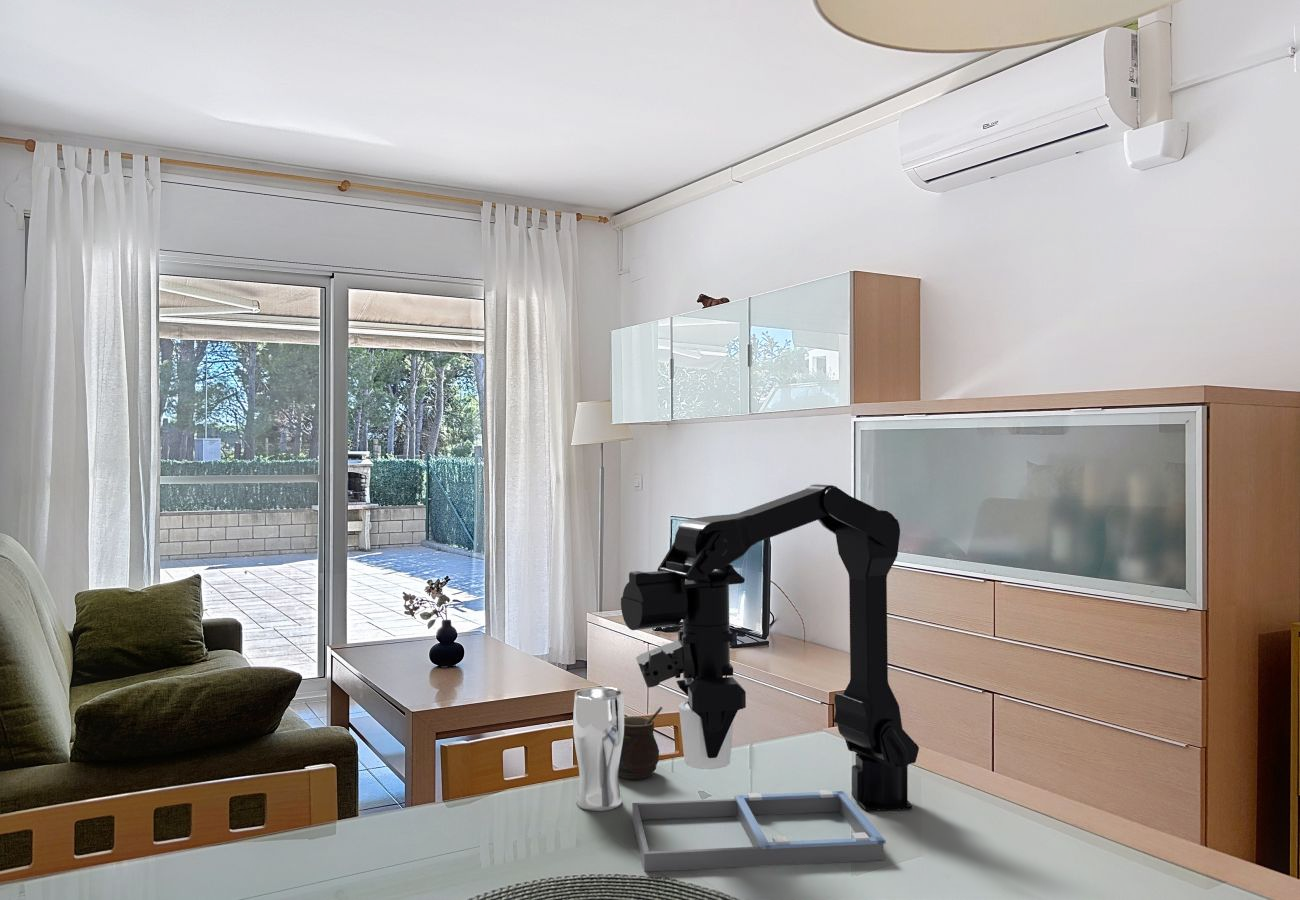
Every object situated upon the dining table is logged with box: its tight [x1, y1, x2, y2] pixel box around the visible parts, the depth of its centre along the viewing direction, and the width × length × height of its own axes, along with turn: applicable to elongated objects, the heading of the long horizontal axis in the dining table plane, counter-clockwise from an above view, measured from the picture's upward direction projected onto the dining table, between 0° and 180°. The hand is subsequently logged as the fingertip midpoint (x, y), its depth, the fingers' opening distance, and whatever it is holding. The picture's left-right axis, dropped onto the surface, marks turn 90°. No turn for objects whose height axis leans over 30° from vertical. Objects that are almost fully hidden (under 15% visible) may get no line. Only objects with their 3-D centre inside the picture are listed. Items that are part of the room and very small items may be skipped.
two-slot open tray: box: [631, 789, 887, 872], centre depth 121 cm, size 28×16×3 cm, turn 96°
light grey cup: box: [678, 699, 734, 770], centre depth 120 cm, size 7×7×7 cm
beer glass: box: [572, 686, 625, 812], centre depth 133 cm, size 7×7×15 cm
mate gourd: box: [618, 706, 663, 780], centre depth 144 cm, size 7×8×10 cm
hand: (707, 749), depth 120 cm, fingers closed on light grey cup, 6 cm apart
